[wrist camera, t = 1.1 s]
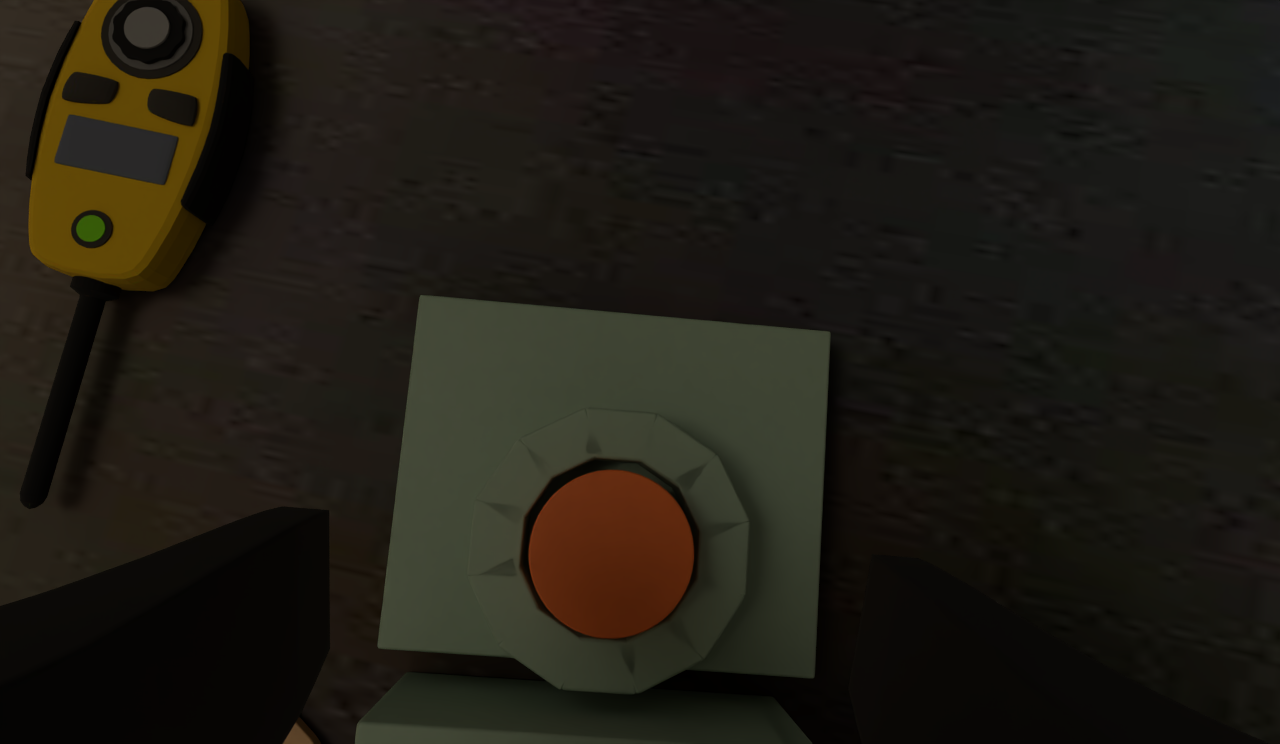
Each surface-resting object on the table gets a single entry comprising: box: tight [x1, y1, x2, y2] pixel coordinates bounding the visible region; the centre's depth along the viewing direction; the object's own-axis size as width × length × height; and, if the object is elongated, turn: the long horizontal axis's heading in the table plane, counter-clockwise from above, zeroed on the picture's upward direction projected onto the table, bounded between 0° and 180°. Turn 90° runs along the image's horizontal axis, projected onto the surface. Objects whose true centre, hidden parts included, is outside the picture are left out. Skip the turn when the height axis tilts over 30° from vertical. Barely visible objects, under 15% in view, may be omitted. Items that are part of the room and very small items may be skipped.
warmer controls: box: [378, 295, 831, 695], centre depth 20 cm, size 9×11×3 cm
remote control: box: [20, 0, 254, 509], centre depth 21 cm, size 5×2×15 cm
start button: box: [529, 470, 694, 639], centre depth 18 cm, size 4×4×2 cm
